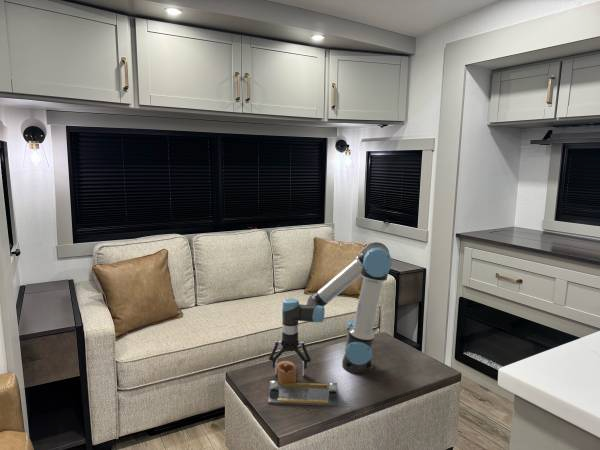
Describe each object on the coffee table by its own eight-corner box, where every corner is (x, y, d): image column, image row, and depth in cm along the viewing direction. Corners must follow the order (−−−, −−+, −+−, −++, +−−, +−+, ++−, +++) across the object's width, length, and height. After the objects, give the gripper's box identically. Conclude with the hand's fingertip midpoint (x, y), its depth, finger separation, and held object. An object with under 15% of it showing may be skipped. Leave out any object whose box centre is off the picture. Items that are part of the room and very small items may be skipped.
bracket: (296, 385, 185) (297, 371, 184) (278, 386, 184) (278, 372, 183) (293, 365, 203) (293, 352, 201) (276, 366, 202) (276, 353, 201)
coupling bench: (336, 388, 183) (336, 375, 182) (337, 406, 170) (337, 392, 169) (271, 386, 184) (271, 373, 183) (268, 403, 171) (268, 389, 170)
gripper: (316, 329, 194) (315, 370, 197) (265, 327, 195) (265, 368, 198) (316, 336, 186) (315, 379, 190) (263, 334, 187) (263, 377, 191)
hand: (289, 374), depth 194 cm, fingers open, 12 cm apart
